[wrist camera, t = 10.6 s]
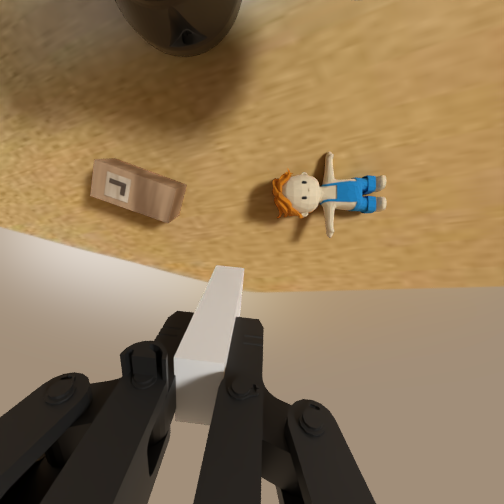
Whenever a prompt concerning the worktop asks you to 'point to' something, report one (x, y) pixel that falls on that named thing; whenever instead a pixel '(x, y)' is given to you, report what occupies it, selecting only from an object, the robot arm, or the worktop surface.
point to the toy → (327, 194)
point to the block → (137, 189)
